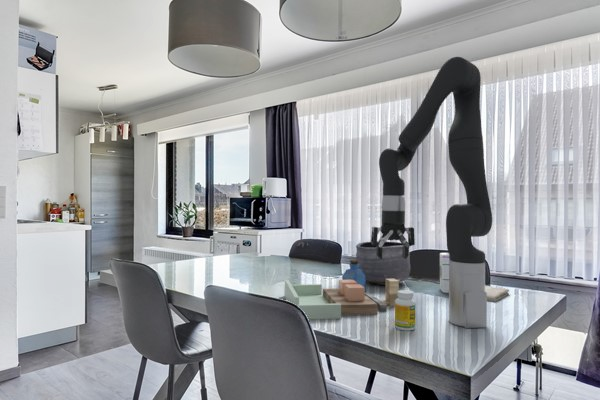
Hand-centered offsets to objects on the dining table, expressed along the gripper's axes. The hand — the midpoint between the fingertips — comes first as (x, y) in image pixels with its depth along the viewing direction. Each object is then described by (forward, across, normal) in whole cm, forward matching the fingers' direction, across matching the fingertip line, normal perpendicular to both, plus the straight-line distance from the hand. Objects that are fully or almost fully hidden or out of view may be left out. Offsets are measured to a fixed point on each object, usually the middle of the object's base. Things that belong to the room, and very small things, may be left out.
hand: (392, 258), depth 128 cm
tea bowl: (+16, +9, +34) cm, 38 cm away
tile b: (+12, -14, +4) cm, 19 cm away
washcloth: (+16, +40, +9) cm, 44 cm away
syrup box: (+15, +29, +16) cm, 36 cm away
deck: (+15, -15, 0) cm, 21 cm away
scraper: (+15, -3, 0) cm, 15 cm away
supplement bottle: (+15, -6, -24) cm, 29 cm away
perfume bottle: (+15, -8, +17) cm, 24 cm away
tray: (+15, -27, 0) cm, 31 cm away
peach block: (+12, -14, -4) cm, 19 cm away
